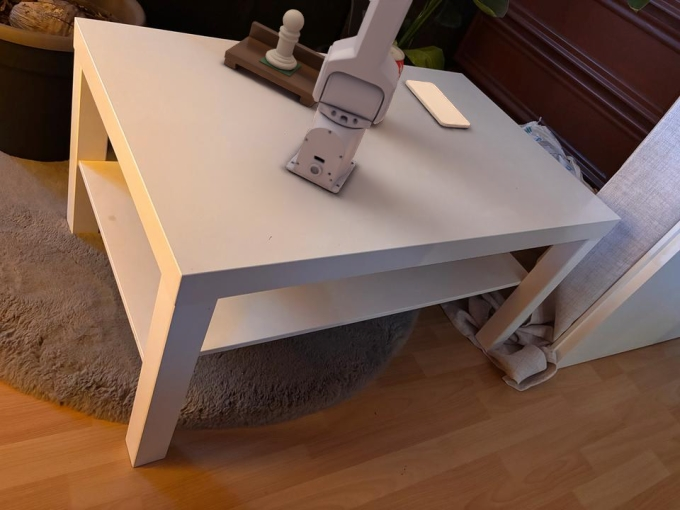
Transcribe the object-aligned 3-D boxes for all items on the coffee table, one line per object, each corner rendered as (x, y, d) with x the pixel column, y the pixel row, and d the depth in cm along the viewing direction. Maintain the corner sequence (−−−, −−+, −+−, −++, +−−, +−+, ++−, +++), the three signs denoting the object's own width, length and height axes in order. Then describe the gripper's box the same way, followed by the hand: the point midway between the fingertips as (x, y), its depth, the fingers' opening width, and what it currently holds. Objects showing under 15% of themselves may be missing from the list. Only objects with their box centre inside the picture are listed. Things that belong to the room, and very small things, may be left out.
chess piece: (302, 69, 95) (318, 18, 89) (280, 73, 91) (296, 20, 85) (280, 52, 96) (295, 1, 90) (258, 56, 93) (272, 3, 87)
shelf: (308, 108, 92) (318, 82, 89) (222, 64, 92) (228, 36, 89) (328, 87, 99) (337, 62, 96) (248, 47, 100) (255, 21, 96)
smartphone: (433, 82, 115) (472, 125, 107) (431, 86, 116) (470, 128, 107) (404, 79, 111) (443, 123, 103) (403, 82, 112) (441, 126, 103)
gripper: (356, -63, 87) (328, 20, 96) (377, -27, 77) (344, 62, 86) (397, -49, 90) (366, 31, 98) (422, -13, 80) (385, 72, 89)
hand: (358, 46), depth 92 cm, fingers open, 7 cm apart
